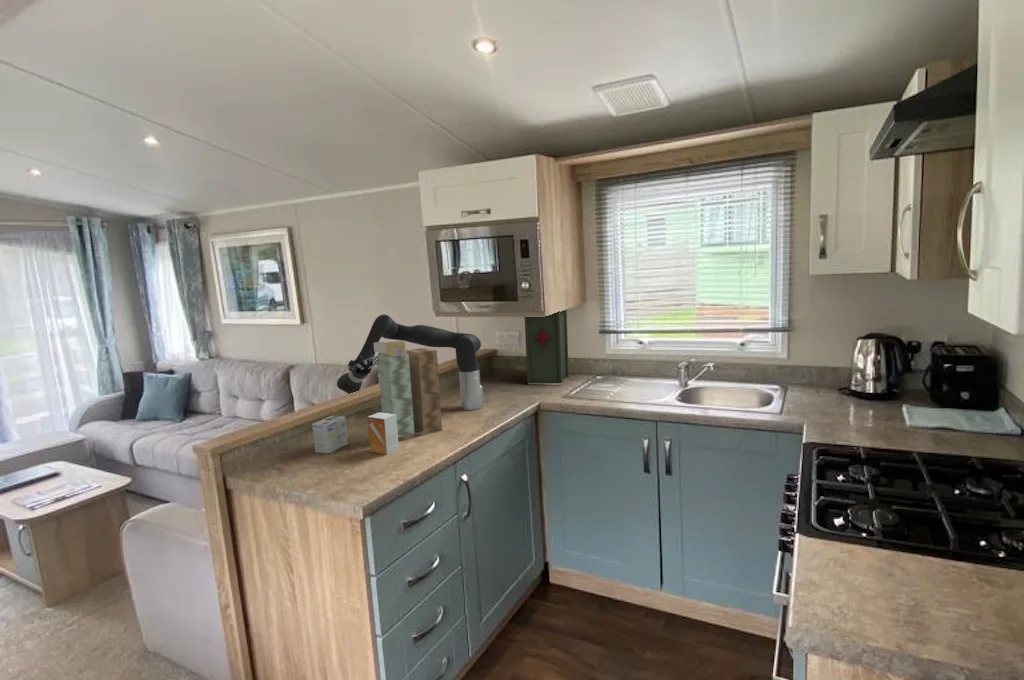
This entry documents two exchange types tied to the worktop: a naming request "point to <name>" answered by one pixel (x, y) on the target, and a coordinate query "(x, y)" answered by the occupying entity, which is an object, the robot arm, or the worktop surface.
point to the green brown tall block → (411, 391)
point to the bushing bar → (390, 348)
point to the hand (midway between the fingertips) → (371, 355)
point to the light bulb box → (330, 434)
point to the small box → (383, 433)
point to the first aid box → (547, 348)
